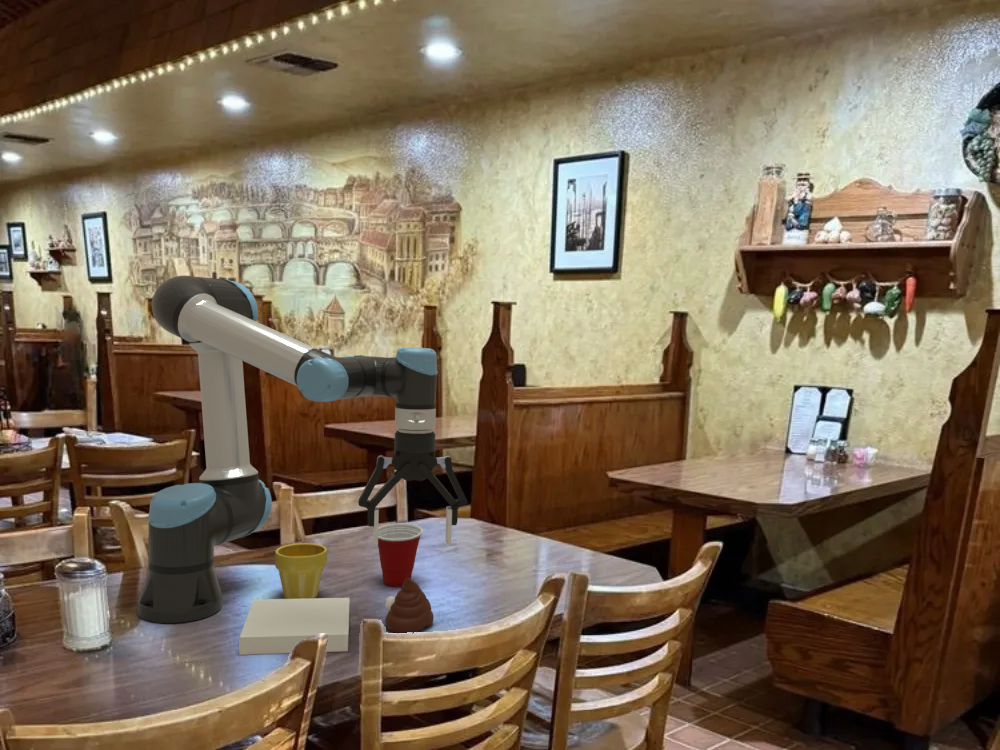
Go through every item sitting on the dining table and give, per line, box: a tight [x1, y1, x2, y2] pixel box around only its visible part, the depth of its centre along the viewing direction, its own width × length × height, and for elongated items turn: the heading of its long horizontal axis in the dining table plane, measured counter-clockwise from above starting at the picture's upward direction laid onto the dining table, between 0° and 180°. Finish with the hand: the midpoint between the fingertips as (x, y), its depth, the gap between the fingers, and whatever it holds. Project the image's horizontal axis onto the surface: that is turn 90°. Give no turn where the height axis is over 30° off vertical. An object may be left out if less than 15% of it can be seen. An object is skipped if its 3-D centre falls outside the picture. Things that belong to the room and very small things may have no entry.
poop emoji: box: [384, 578, 434, 634], centre depth 146 cm, size 10×8×9 cm
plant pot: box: [274, 542, 328, 599], centre depth 158 cm, size 10×10×10 cm
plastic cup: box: [372, 522, 424, 588], centre depth 169 cm, size 11×11×12 cm
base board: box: [238, 597, 351, 656], centre depth 140 cm, size 18×18×3 cm
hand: (412, 542), depth 145 cm, fingers open, 13 cm apart
